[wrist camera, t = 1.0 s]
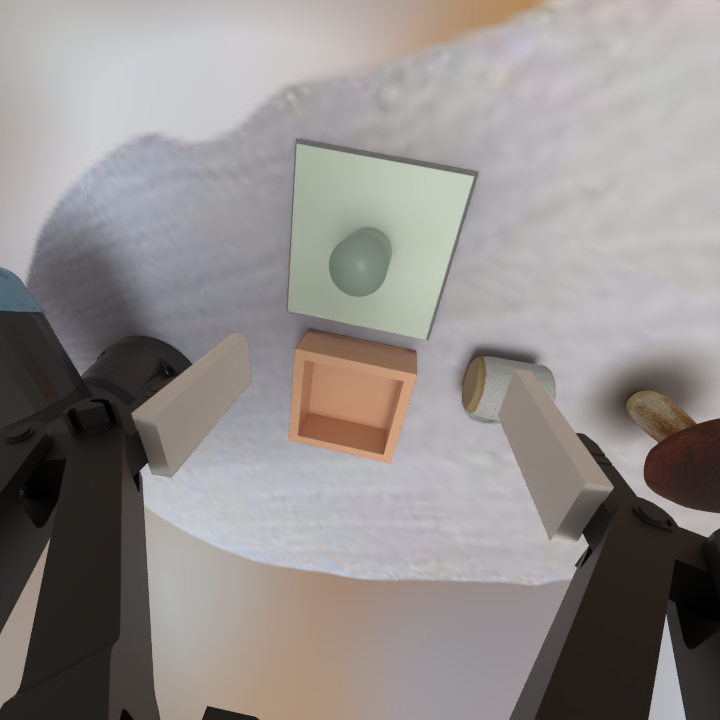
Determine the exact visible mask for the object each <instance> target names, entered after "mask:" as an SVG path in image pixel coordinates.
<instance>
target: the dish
mask: <svg viewBox="0 0 720 720" xmlns="http://www.w3.org/2000/svg"><path fill="white" fill-rule="evenodd" d="M416 377H417V359H416V351H413V350H408V349H404V348H399V347H394V346H389V345H385V344H380V343H375V342H370V341H366V340H361V339H356V338H351V337H347V336H342V335H337V334H332V333H328V332H323V331H318V330H313V329H309V330H308V332H307V333H306V334H305V336H304V337H303V339H302V340H301V341H300V343H299V344H298V345H297V347H296V348H295V355H294V369H293V383H292V397H291V411H290V426H289V441H294V442H298V443H303V444H307V445H311V446H316V447H320V448H325V449H329V450H333V451H338V452H342V453H347V454H351V455H355V456H360V457H364V458H369V459H373V460H377V461H382V462H386V463H391V461H392V458H393V454H394V451H395V448H396V444H397V441H398V437H399V434H400V431H401V427H402V424H403V421H404V417H405V414H406V411H407V407H408V404H409V401H410V397H411V394H412V391H413V387H414V384H415V381H416Z"/></svg>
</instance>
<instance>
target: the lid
mask: <svg viewBox="0 0 720 720" xmlns="http://www.w3.org/2000/svg"><path fill="white" fill-rule="evenodd" d="M473 179H474V176H470V175H464V174H459V173H453V172H448V171H443V170H437V169H432V168H426V167H421V166H416V165H410V164H405V163H399V162H394V161H388V160H383V159H378V158H372V157H367V156H361V155H356V154H350V153H345V152H340V151H334V150H329V149H323V148H318V147H312V146H307V145H302V144H297V148H296V166H295V184H294V203H293V221H292V240H291V258H290V276H289V295H288V311H290V312H295V313H299V314H304V315H309V316H314V317H319V318H323V319H328V320H333V321H338V322H343V323H347V324H352V325H357V326H362V327H367V328H371V329H376V330H381V331H386V332H390V333H395V334H400V335H405V336H410V337H414V338H419V339H424V340H426V338H427V334H428V331H429V327H430V324H431V321H432V317H433V314H434V310H435V307H436V304H437V300H438V297H439V294H440V290H441V287H442V283H443V280H444V277H445V273H446V270H447V267H448V263H449V260H450V256H451V253H452V250H453V246H454V243H455V239H456V236H457V233H458V229H459V226H460V223H461V219H462V216H463V212H464V209H465V206H466V202H467V199H468V196H469V192H470V189H471V185H472V182H473Z"/></svg>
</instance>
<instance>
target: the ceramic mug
mask: <svg viewBox="0 0 720 720" xmlns="http://www.w3.org/2000/svg"><path fill="white" fill-rule="evenodd" d="M514 369H518V370H526V371H532V373H533V374H534V376H535V377H536V378H537V380H538V381H539V383H540V384H541V385H542V387H543V388H544V390H545V391H546V393H547V394H548V395H549V397H550V398H551V400H552V401H553V402H554V401H555V394H556V392H555V380H554V377H553V374H552V372H551V370H550V369H548V368H547V367H545V366H543V365H536V364H531V363H526V362H519V361H513V360H507V359H502V358H498V357H490V356H480V357H477V358H475V359H474V360H473V361H472V362H471V363H470V365H469V367H468V370H467V373H466V376H465V380H464V384H463V391H462V402H463V406H464V408H465V413H466V415H467V416H468V417H469V418H470V419H472V420H474V421H477V422H480V423H484V424H500V423H501V422H500V420H499V417H498V413H499V411H500V408H501V405H502V402H503V400H504V397H505V394H506V391H507V389H508V386H509V383H510V380H511V378H512V375H513V372H514Z"/></svg>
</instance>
